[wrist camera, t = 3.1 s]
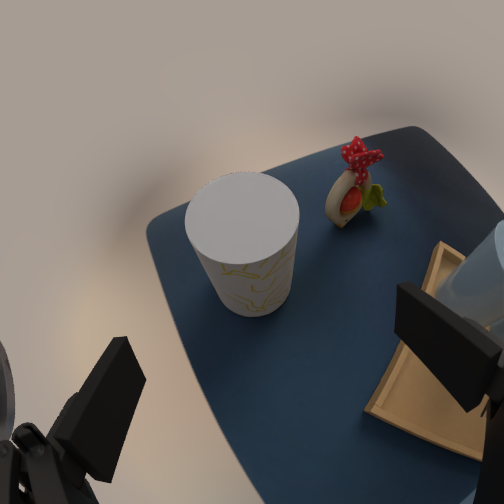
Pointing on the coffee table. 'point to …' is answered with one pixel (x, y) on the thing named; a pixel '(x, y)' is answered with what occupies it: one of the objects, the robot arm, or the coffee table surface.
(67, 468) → the robot arm
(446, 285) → the slate blue cylinder
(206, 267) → the light grey cylinder
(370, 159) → the bird rattle
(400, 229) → the coffee table surface
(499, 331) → the grey-blue cylinder
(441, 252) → the tray
